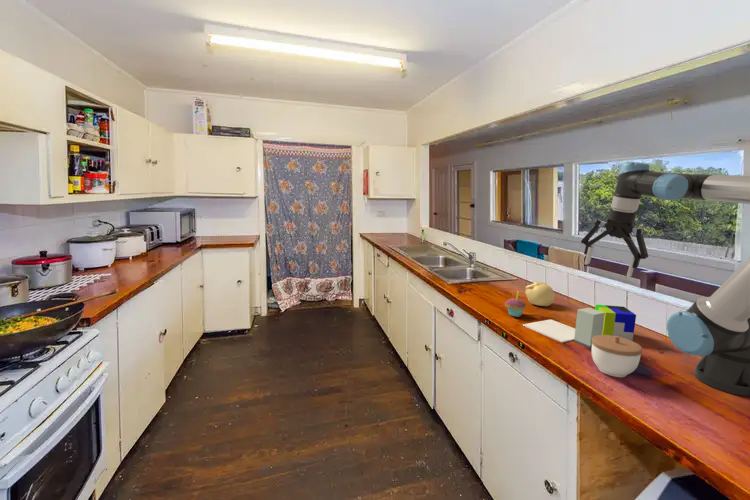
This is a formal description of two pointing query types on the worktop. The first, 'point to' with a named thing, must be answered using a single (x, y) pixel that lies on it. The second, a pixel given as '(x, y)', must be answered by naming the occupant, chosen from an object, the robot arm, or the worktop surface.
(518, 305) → the cupcake
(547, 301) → the sculpture
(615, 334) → the puzzle toy
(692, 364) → the worktop surface
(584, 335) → the sage block
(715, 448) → the worktop surface
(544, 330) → the board
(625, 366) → the lidded bowl
